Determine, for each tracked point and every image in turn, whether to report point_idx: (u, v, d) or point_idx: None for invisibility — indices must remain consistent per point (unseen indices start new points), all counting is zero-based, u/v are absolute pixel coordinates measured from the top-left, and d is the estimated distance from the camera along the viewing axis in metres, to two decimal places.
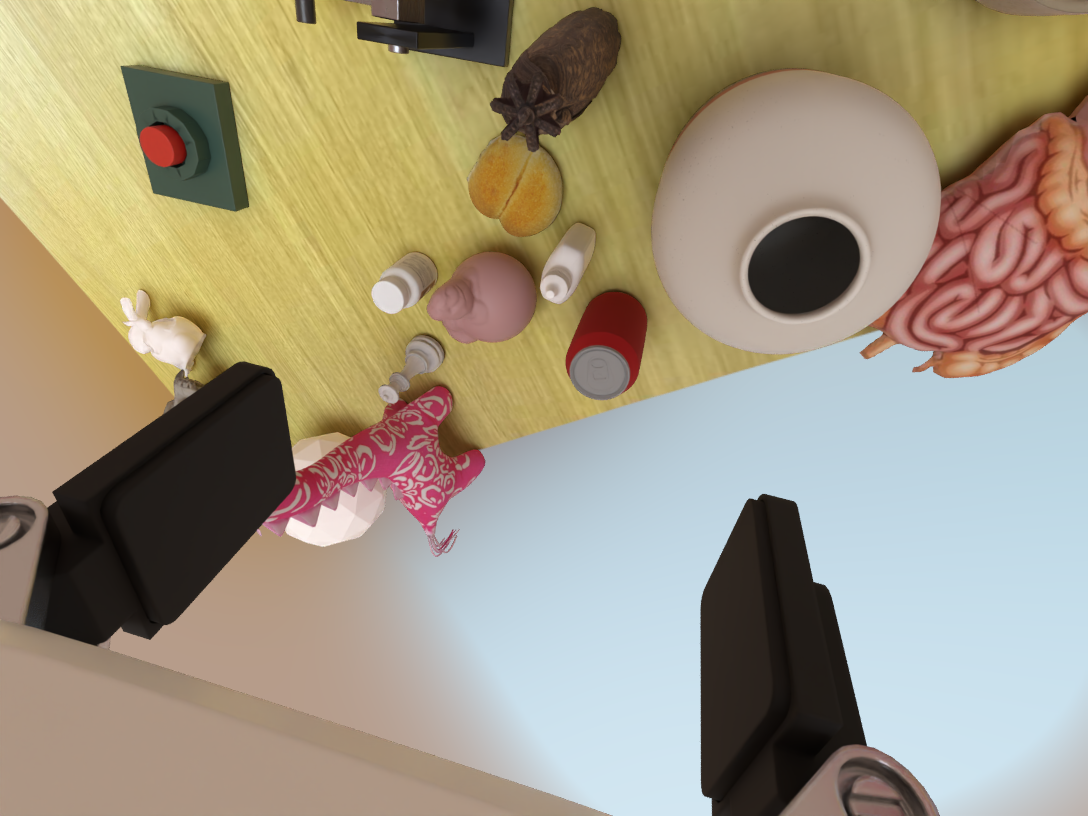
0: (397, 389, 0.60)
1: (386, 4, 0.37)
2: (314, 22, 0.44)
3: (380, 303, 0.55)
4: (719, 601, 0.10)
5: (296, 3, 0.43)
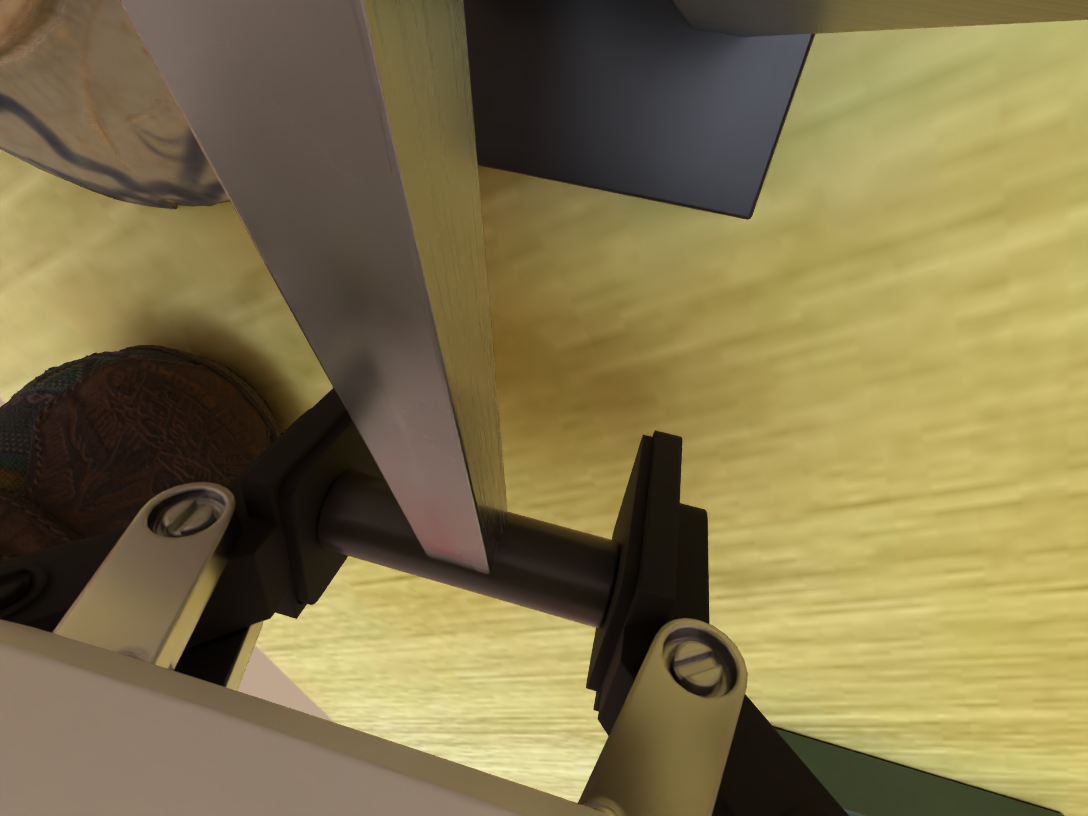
0: None
1: None
2: (614, 557, 0.09)
3: None
4: (618, 529, 0.11)
5: (533, 608, 0.09)
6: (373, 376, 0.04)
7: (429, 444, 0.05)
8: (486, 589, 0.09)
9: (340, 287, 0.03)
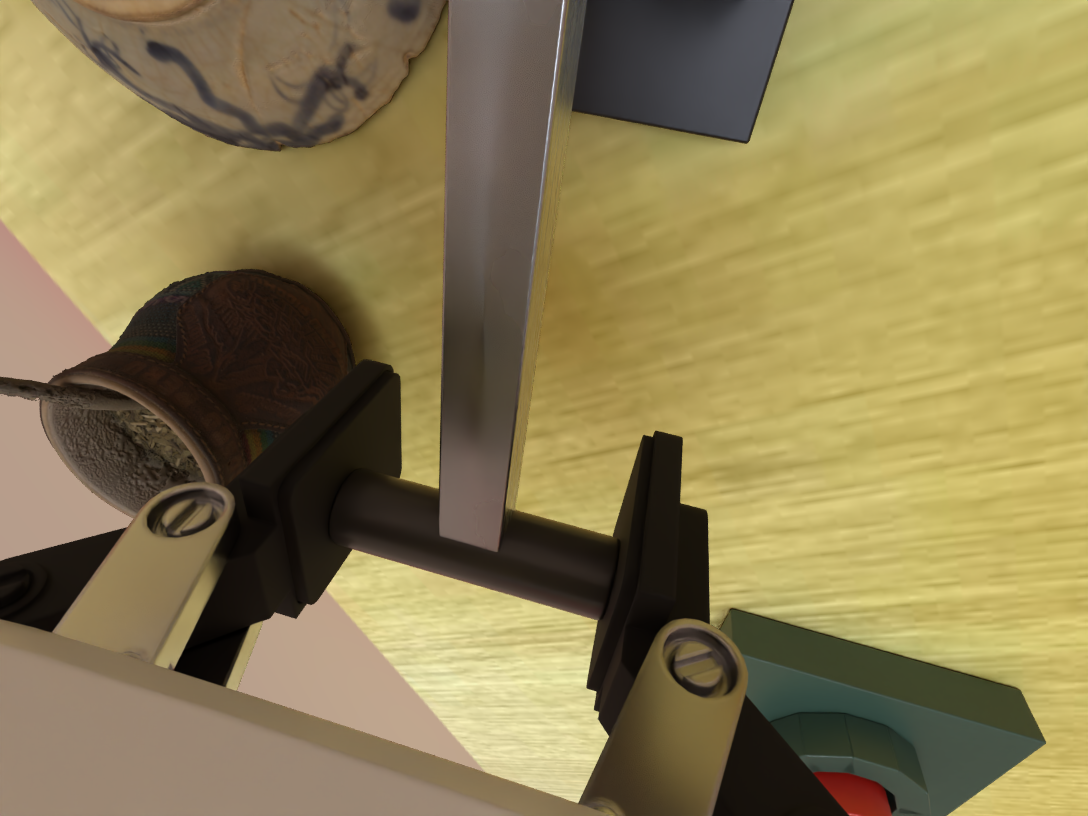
0: None
1: None
2: (615, 542, 0.10)
3: None
4: (618, 529, 0.11)
5: (537, 595, 0.09)
6: (484, 221, 0.06)
7: (502, 308, 0.07)
8: (493, 571, 0.09)
9: (494, 121, 0.05)
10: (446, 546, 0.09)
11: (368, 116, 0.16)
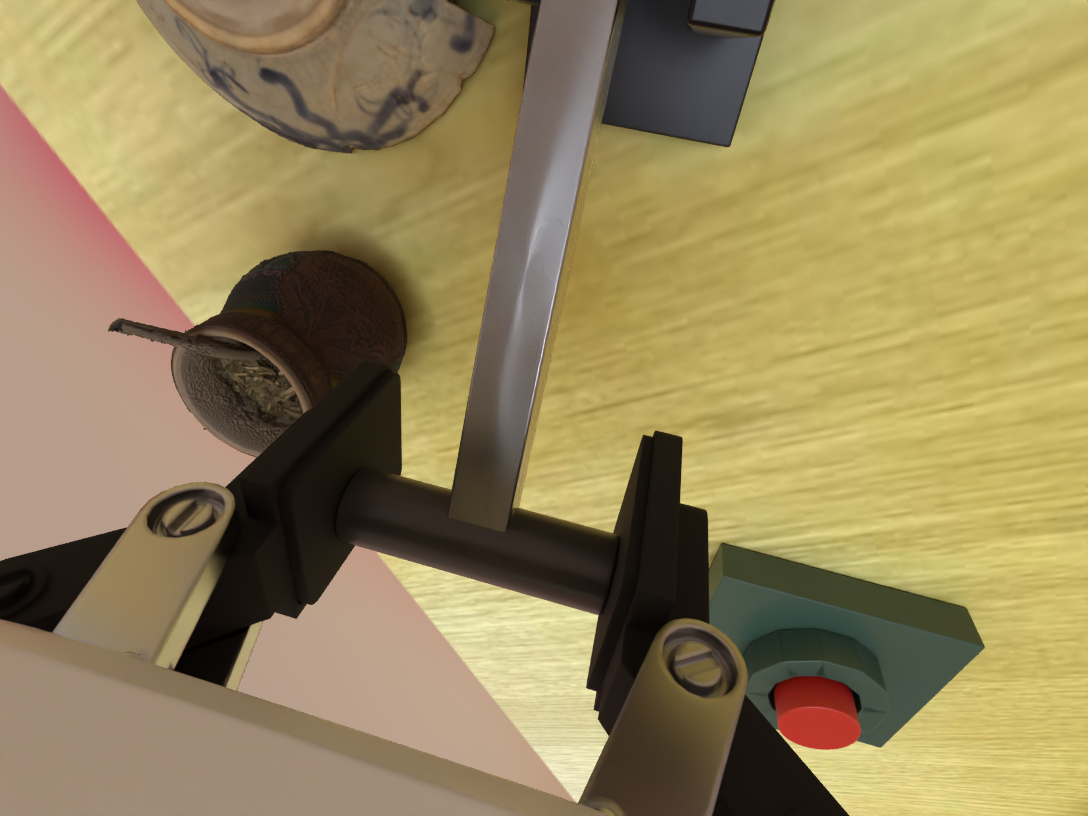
0: None
1: None
2: (614, 535, 0.10)
3: None
4: (618, 529, 0.11)
5: (541, 579, 0.09)
6: (535, 196, 0.08)
7: (540, 267, 0.09)
8: (500, 551, 0.10)
9: (551, 124, 0.08)
10: (454, 527, 0.10)
11: (426, 125, 0.20)
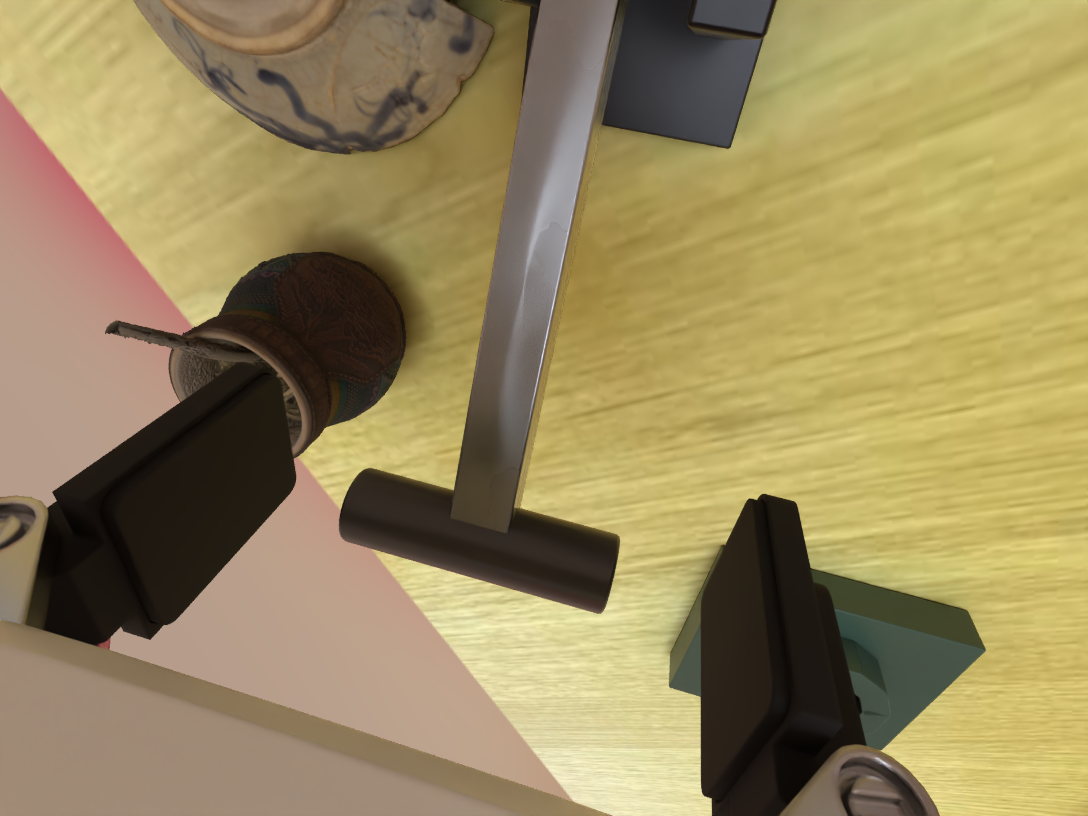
0: None
1: None
2: (614, 534, 0.10)
3: None
4: (719, 601, 0.10)
5: (542, 579, 0.10)
6: (535, 201, 0.08)
7: (540, 272, 0.09)
8: (501, 552, 0.10)
9: (551, 129, 0.08)
10: (456, 527, 0.10)
11: (425, 126, 0.20)
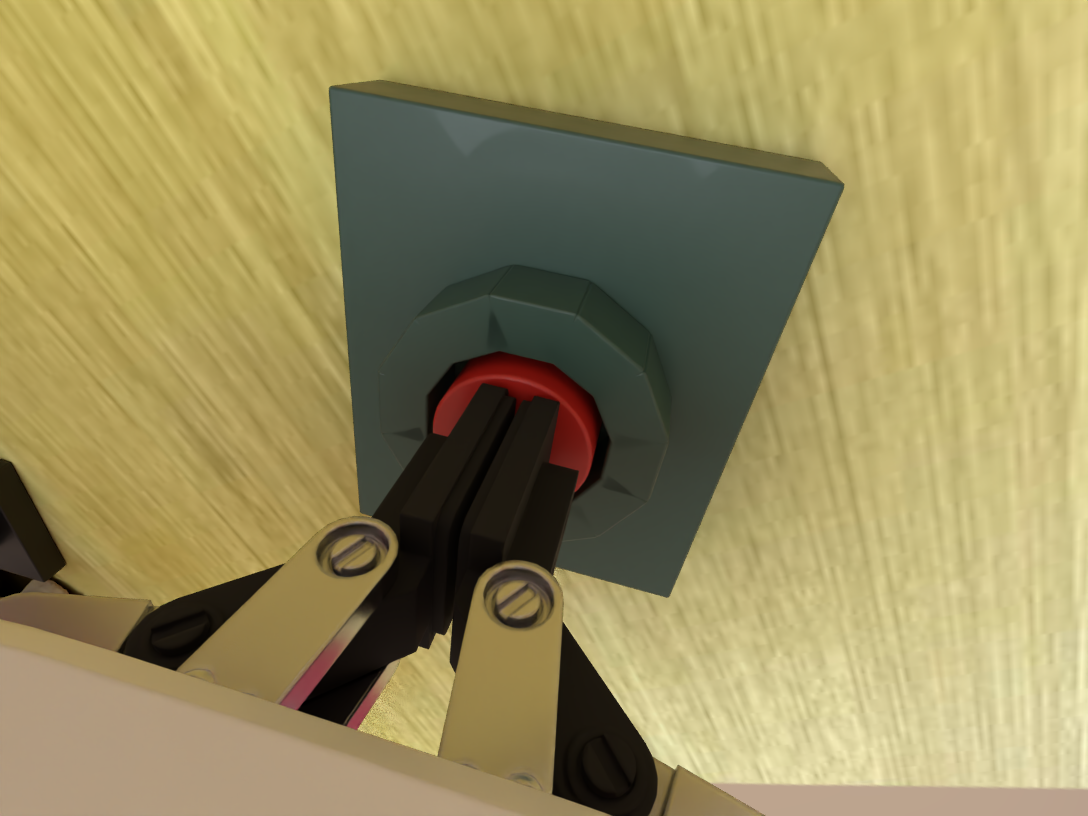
0: None
1: None
2: None
3: None
4: None
5: None
6: None
7: None
8: None
9: None
10: None
11: None
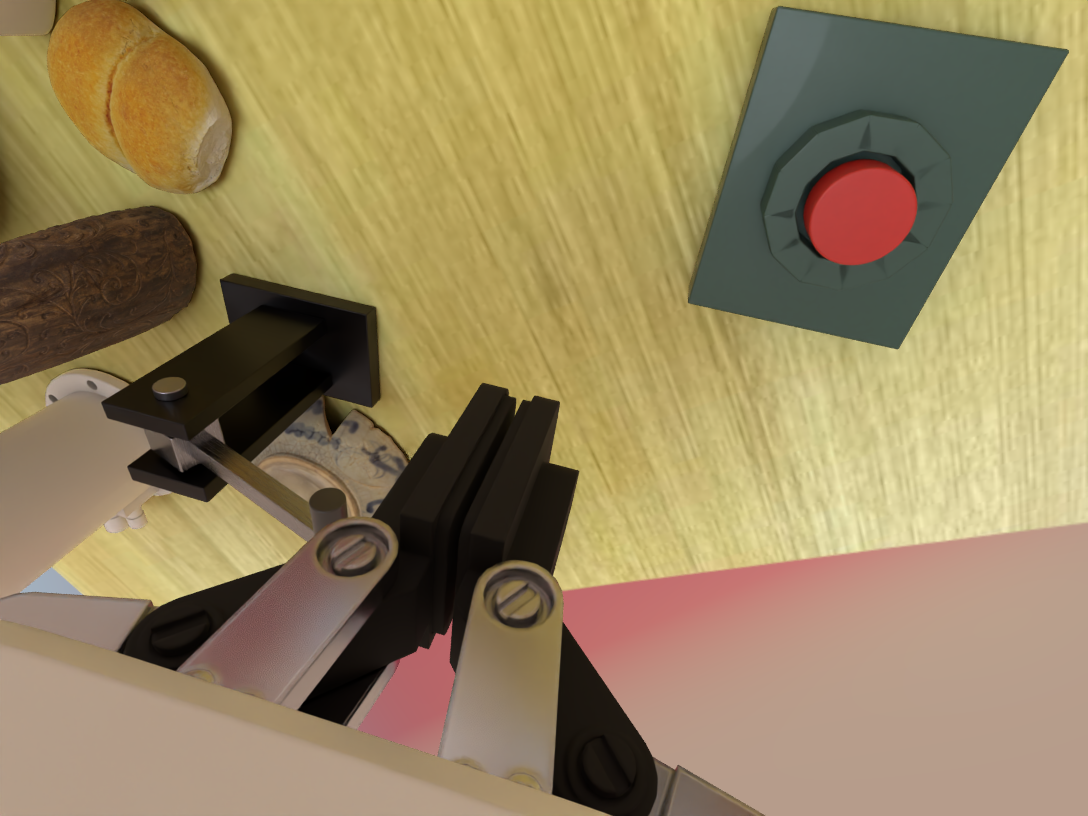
0: None
1: (155, 437, 0.28)
2: (322, 490, 0.23)
3: None
4: None
5: (316, 529, 0.23)
6: (236, 484, 0.26)
7: (249, 489, 0.26)
8: None
9: (223, 474, 0.27)
10: None
11: (396, 446, 0.40)
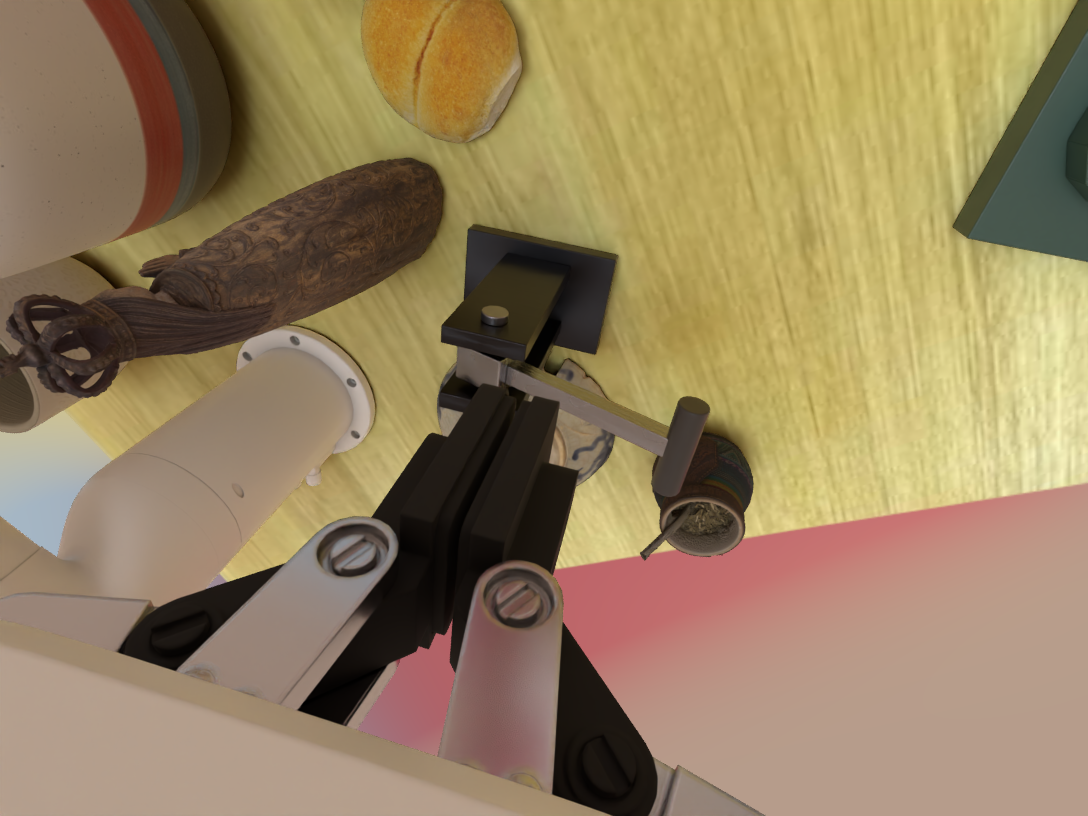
0: None
1: (473, 363, 0.29)
2: None
3: None
4: None
5: (682, 433, 0.25)
6: (564, 403, 0.28)
7: (582, 406, 0.28)
8: (672, 444, 0.25)
9: (548, 394, 0.28)
10: (664, 456, 0.26)
11: (603, 395, 0.42)
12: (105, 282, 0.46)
